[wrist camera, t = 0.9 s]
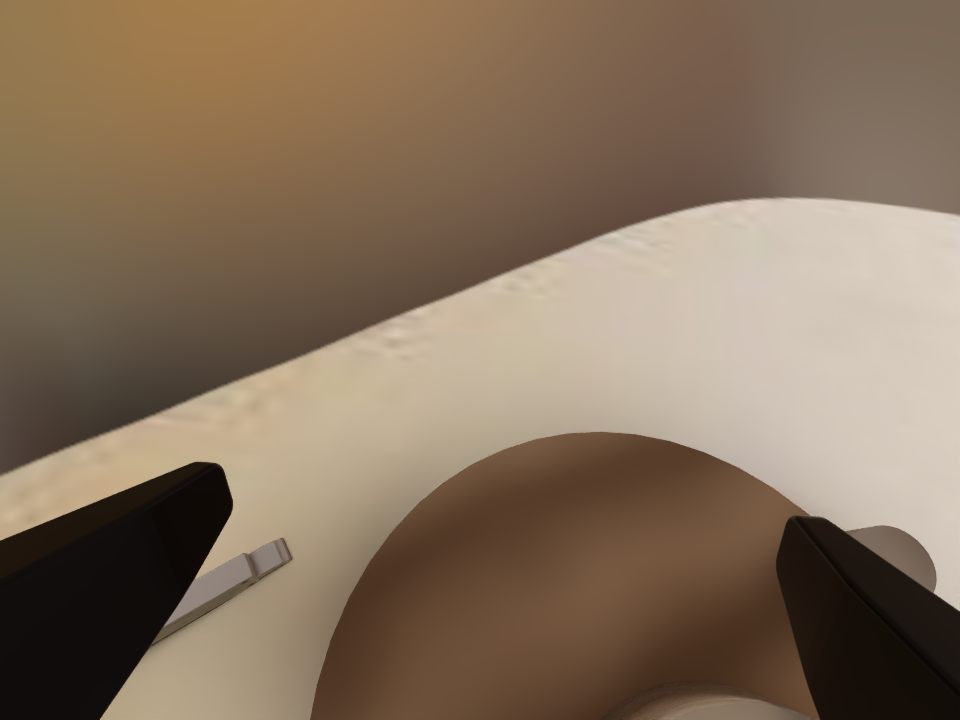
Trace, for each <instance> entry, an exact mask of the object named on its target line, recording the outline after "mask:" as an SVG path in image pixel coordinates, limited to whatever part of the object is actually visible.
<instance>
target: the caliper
mask: <svg viewBox="0 0 960 720" xmlns="http://www.w3.org/2000/svg"><path fill="white" fill-rule="evenodd" d="M290 560H291V557H290V554H289V552H288V550H287V547H286V545H285V543H284V540H283V538H280V539H278V540H276V541H272V542H270V543H268V544H267V545H265V546H263V547H261V548H259V549H258V550H256V551H254V552H252V553H251V554H249V555H248V554H246V553H243V554H241V555H239V556H237V557H236V558H234V559H232V560H230V561H228V562H227V563H225V564H223V565H221V566H219V567H218V568H216V569H214V570H212V571H210V572H209V573H207V574H205V575H203V576H201V577H199V578H198V579H196V580H194V581H193V582H192V584H191V586H190V587H189V589H188V591H187V592H186V594H185V596H184V597H183V599H182V600H181V602H180V603H179V605H178V606H177V608H176V609H175V611H174V612H173V614H172V615H171V617H170V618H169V620H168V621H167V623H166V624H165V625H164V627H163V628H162V630H161V631H160V633H159V634H158V636H157V637H156V638H155V640H154V641H153V643H152V644H154V643H156V642H158V641H159V640H161V639H163V638H164V637H166V636H168V635H170V634H171V633H173V632H175V631H177V630H178V629H180V628H182V627H183V626H185V625H187V624H189V623H190V622H192V621H194V620H195V619H197V618H199V617H201V616H202V615H204V614H206V613H207V612H209V611H211V610H213V609H214V608H216V607H218V606H220V605H221V604H223V603H225V602H226V601H228V600H229V599H231V598H233V597H234V596H236V595H237V594H239V593H240V592H242V591H244V590H245V589H247V588H248V587H250V586H251V585H253V584H254V583H256V582H258V581H259V580H261V577H263V576H265V575H266V574H268V573H270V572H272V571H273V570H275V569H277V568H279V567H280V566H282V565H284V564H285V563H287V562H289V561H290ZM152 644H151V645H152Z"/></svg>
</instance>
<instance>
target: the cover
mask: <svg viewBox="0 0 960 720" xmlns="http://www.w3.org/2000/svg"><path fill="white" fill-rule="evenodd" d="M601 720H815V719H813V718H811V717H808V716H806V715H804V714H801V713H799V712H797V711H794V710H792V709H790V708H787V707H785V706H782V705H780V704H778V703H775V702H773V701H771V700H768V699H766V698H764V697H761V696H759V695H756V694H754V693H751V692H749V691H746V690H744V689H742V688H738V687H734V686H730V685H726V684H722V683H717V682H708V681H699V680H696V681H676V682H671V683H666V684H661V685H657V686H654V687H652V688H649V689H646V690H643V691H641V692H638V693H637V694H635V695H633V696H631V697H630V698H628V699H626V700H624V701H623V702H621V703H620V704H618V705H617V706H616V707H615V708H613V709H612V710H611V711H610V712H608V713H607V714H606V715H605V716H604V717H603V718H602V719H601Z"/></svg>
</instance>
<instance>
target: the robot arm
mask: <svg viewBox="0 0 960 720" xmlns="http://www.w3.org/2000/svg"><path fill="white" fill-rule="evenodd" d="M232 509H233V499H232V496H231V492H230V489H229V486H228V482H227V479H226V476H225V472H224V470H223V468H222V467H221V466H220V465H219V464H217V463H210V462H193V463H191V464H188V465H186V466H183V467H181V468H178V469H176V470H173V471H171V472H168V473H166V474H163V475H161V476H159V477H156V478H154V479H151V480H149V481H146V482H144V483H141V484H139V485H136V486H134V487H131V488H129V489H127V490H124V491H122V492H119V493H117V494H114V495H112V496H109V497H107V498H104V499H102V500H99V501H97V502H94V503H92V504H90V505H87V506H85V507H82V508H80V509H77V510H75V511H72V512H70V513H67V514H65V515H62V516H60V517H58V518H55V519H53V520H50V521H48V522H45V523H43V524H40V525H38V526H35V527H33V528H30V529H28V530H26V531H23V532H21V533H18V534H16V535H13V536H11V537H8V538H6V539H3V540H1V541H0V720H100V718H101V717H102V716H103V714H104V713H105V711H106V710H107V708H108V707H109V705H110V704H111V702H112V701H113V700H114V698H115V697H116V695H117V694H118V692H119V691H120V689H121V688H122V686H123V685H124V684H125V682H126V681H127V679H128V678H129V676H130V675H131V673H132V672H133V670H134V669H135V668H136V666H137V665H138V663H139V662H140V660H141V659H142V657H143V656H144V654H145V653H146V652H147V650H148V649H149V647H150V646H151V644H152V643H153V641H154V640H155V638H156V637H157V636H158V634H159V633H160V631H161V630H162V628H163V627H164V625H165V624H166V623H167V621H168V620H169V618H170V617H171V615H172V614H173V612H174V611H175V609H176V608H177V606H178V605H179V603H180V602H181V600H182V599H183V597H184V596H185V594H186V592H187V591H188V589H189V587H190V586H191V584H192V582H193V580H194V579H195V577H196V575H197V573H198V572H199V570H200V568H201V566H202V565H203V563H204V561H205V559H206V558H207V556H208V554H209V552H210V550H211V549H212V547H213V545H214V543H215V542H216V540H217V538H218V536H219V535H220V533H221V531H222V529H223V528H224V526H225V524H226V522H227V521H228V519H229V517H230V515H231V512H232ZM776 573H777V577H778V581H779V585H780V588H781V592H782V596H783V599H784V603H785V607H786V610H787V614H788V617H789V621H790V625H791V628H792V632H793V636H794V639H795V643H796V647H797V650H798V654H799V658H800V661H801V665H802V668H803V672H804V675H805V678H806V682H807V685H808V688H809V691H810V694H811V697H812V699H813V702H814V705H815V708H816V710H817V713H818V716H819V718H820V720H960V611H958V610H957V609H956V608H954V607H953V606H951V605H950V604H948V603H947V602H946V601H944V600H943V599H941V598H940V597H938V596H937V595H935V594H934V593H933V592H931V591H930V590H928V589H927V588H925V587H924V586H922V585H921V584H920V583H918V582H917V581H915V580H914V579H912V578H911V577H909V576H908V575H907V574H905V573H904V572H902V571H901V570H899V569H898V568H897V567H895V566H894V565H892V564H891V563H889V562H888V561H886V560H885V559H884V558H882V557H881V556H879V555H878V554H876V553H875V552H873V551H872V550H871V549H869V548H868V547H866V546H865V545H863V544H862V543H860V542H859V541H858V540H856V539H855V538H853V537H852V536H850V535H849V534H848V533H846V532H845V531H843V530H842V529H840V528H839V527H837V526H836V525H835V524H833V523H832V522H830V521H829V520H827V519H825V518H822V517H816V516H804V515H793V516H791V517H789V519H788V520H787V522H786V525H785V528H784V532H783V535H782V539H781V543H780V546H779V550H778V553H777V557H776Z"/></svg>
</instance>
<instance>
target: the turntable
mask: <svg viewBox="0 0 960 720" xmlns="http://www.w3.org/2000/svg"><path fill="white" fill-rule="evenodd" d="M793 515H804V516H810V515H809V514H807V513H806V512H805V511H803V510H802V509H801V508H799V507H798V506H797V505H795V504H794V503H793V502H791V501H790V500H789V499H787V498H786V497H784V496H783V495H782V494H780V493H779V492H778V491H776V490H775V489H774V488H772V487H770V486H769V485H767V484H765V483H764V482H762V481H760V480H758V479H757V478H755V477H753V476H752V475H750V474H748V473H746V472H745V471H743V470H741V469H740V468H738V467H736V466H733V465H731V464H729V463H727V462H724V461H722V460H720V459H718V458H716V457H713V456H711V455H709V454H707V453H704V452H702V451H698V450H695V449H692V448H689V447H686V446H683V445H680V444H677V443H674V442H670V441H666V440H661V439H656V438H651V437H646V436H641V435H635V434H622V433H609V432H591V433H571V434H563V435H558V436H552V437H547V438H541V439H536V440H532V441H529V442H526V443H523V444H520V445H517V446H514V447H511V448H507V449H504V450H502V451H500V452H498V453H496V454H493V455H491V456H489V457H487V458H485V459H483V460H481V461H479V462H476V463H474V464H473V465H471V466H469V467H468V468H466V469H465V470H463V471H462V472H460V473H458V474H457V475H455V476H454V477H452V478H451V479H449V480H447V481H446V482H444V483H443V484H442V485H441V486H440V487H438V488H437V489H436V490H435V491H434V492H432V493H431V494H430V495H429V496H428V497H426V498H425V499H424V500H423V501H422V502H420V503H419V504H418V505H417V506H416V507H415V508H414V509H413V510H412V511H411V512H410V513H409V514H408V515H407V517H406V518H405V519H404V520H403V521H402V522H401V523H400V524H399V525H398V526H397V527H396V528H395V529H394V530H393V531H392V533H391V534H390V535H389V537H388V538H387V539H386V541H385V542H384V544H383V545H382V546H381V548H380V549H379V550H378V552H377V553H376V554H375V556H374V557H373V559H372V560H371V561H370V563H369V564H368V566H367V568H366V569H365V571H364V573H363V575H362V576H361V578H360V580H359V582H358V583H357V585H356V587H355V589H354V590H353V592H352V594H351V596H350V597H349V599H348V601H347V604H346V606H345V608H344V611H343V613H342V615H341V618H340V620H339V622H338V625H337V627H336V629H335V632H334V634H333V636H332V639H331V641H330V645H329V648H328V651H327V654H326V658H325V661H324V664H323V667H322V671H321V674H320V677H319V680H318V684H317V688H316V694H315V699H314V704H313V709H312V714H311V719H310V720H601V719H602V718H603V717H604V716H605V715H606V714H607V713H608V712H610V711H611V710H612V709H613V708H615V707H616V706H617V705H618V704H620V703H621V702H623V701H624V700H626V699H628V698H630V697H631V696H633V695H635V694H637V693H638V692H641V691H643V690H646V689H649V688H652V687H654V686H657V685H661V684H666V683H671V682H676V681H696V680H699V681H708V682H717V683H722V684H726V685H730V686H734V687H738V688H742V689H744V690H746V691H749V692H751V693H754V694H756V695H759V696H761V697H764V698H766V699H768V700H771V701H773V702H775V703H778V704H780V705H782V706H785V707H787V708H790V709H792V710H794V711H797V712H799V713H801V714H804V715H806V716H808V717H811V718H813V719H815V720H820V718H819V716H818V713H817V710H816V708H815V705H814V702H813V699H812V697H811V694H810V691H809V688H808V685H807V682H806V678H805V675H804V672H803V668H802V665H801V661H800V658H799V654H798V650H797V647H796V643H795V639H794V636H793V632H792V628H791V625H790V621H789V617H788V614H787V610H786V607H785V603H784V599H783V596H782V592H781V588H780V585H779V581H778V577H777V573H776V557H777V553H778V550H779V546H780V543H781V539H782V535H783V532H784V528H785V525H786V522H787V520H788V519H789V517H791V516H793ZM845 532H846V533H848V534H849V535H850V536H852V537H853V538H855V539H856V540H858V541H859V542H860V543H862V544H863V545H865V546H866V547H868V548H869V549H871V550H872V551H873V552H875V553H876V554H878V555H879V556H881V557H882V558H884V559H885V560H886V561H888V562H889V563H891V564H892V565H894V566H895V567H897V568H898V569H899V570H901V571H902V572H904V573H905V574H907V575H908V576H909V577H911V578H912V579H914V580H915V581H917V582H918V583H920V584H921V585H922V586H924V587H925V588H927V589H928V590H930V591H931V592H934V590H935V587H936V571H935V567H934V564H933V562H932V559H931V558H930V556H929V554H928V553H927V551H926V550H925V548H924V547H923V546H922V545H921V544H920V543H919V542H918V541H917V540H916V539H915V538H913V537H912V536H911V535H909V534H908V533H906V532H904V531H902V530H900V529H897V528H894V527H890V526H874V527H868V528H862V529H856V530H851V531H845Z"/></svg>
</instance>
